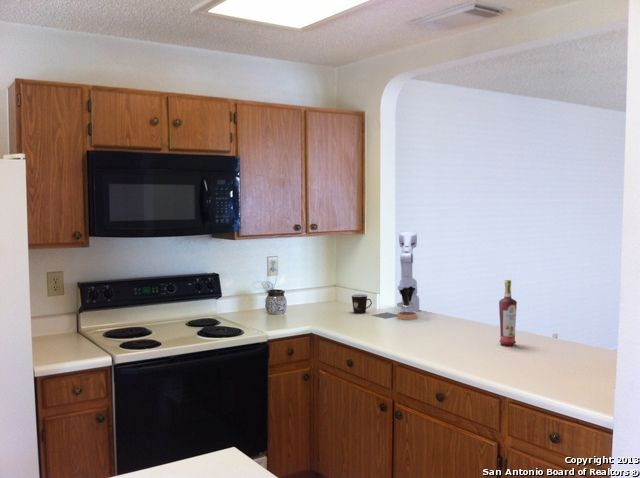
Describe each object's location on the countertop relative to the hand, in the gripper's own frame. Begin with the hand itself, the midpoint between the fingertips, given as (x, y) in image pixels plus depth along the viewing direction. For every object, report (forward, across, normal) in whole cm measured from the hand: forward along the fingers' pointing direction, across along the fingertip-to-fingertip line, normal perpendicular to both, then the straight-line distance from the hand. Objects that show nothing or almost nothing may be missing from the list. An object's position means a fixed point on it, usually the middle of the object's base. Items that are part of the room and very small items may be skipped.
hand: (407, 301), depth 327 cm
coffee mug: (+9, +3, -28) cm, 29 cm away
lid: (+2, 0, -1) cm, 2 cm away
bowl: (+9, 0, 0) cm, 9 cm away
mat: (+9, +1, -13) cm, 16 cm away
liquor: (+9, +21, +64) cm, 68 cm away
